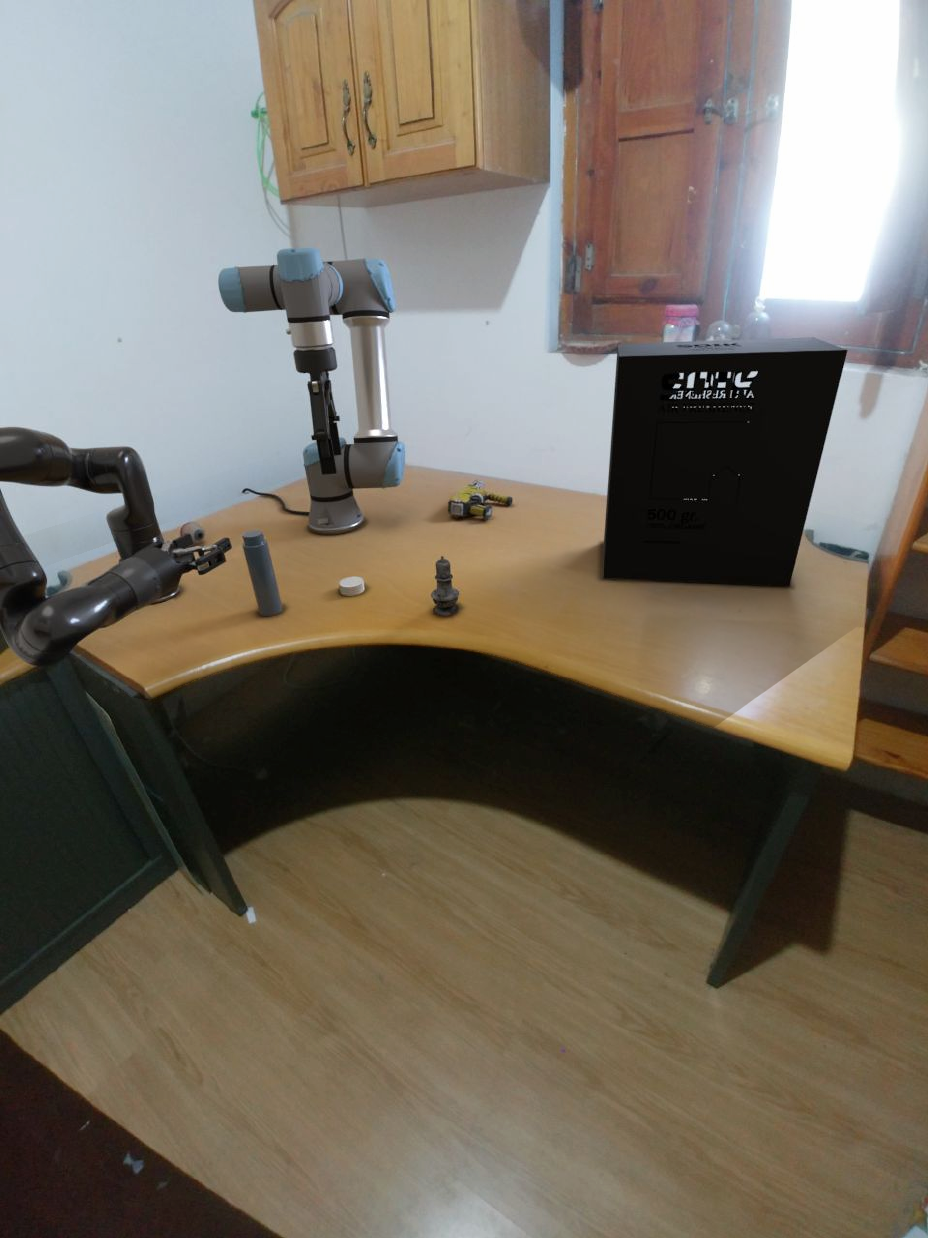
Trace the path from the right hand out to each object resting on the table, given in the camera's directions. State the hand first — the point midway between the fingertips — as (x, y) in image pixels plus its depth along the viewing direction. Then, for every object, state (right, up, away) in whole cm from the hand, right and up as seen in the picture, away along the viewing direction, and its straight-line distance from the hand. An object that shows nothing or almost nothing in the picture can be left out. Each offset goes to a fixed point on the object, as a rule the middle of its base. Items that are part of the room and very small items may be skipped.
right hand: (332, 464), depth 120 cm
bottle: (-15, -29, +8) cm, 33 cm away
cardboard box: (+77, -18, +17) cm, 81 cm away
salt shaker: (+23, -29, +4) cm, 37 cm away
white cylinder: (+1, -23, +13) cm, 26 cm away
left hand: (-19, -17, -12) cm, 28 cm away
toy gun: (+32, +2, +56) cm, 65 cm away
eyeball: (-46, -11, +42) cm, 64 cm away
